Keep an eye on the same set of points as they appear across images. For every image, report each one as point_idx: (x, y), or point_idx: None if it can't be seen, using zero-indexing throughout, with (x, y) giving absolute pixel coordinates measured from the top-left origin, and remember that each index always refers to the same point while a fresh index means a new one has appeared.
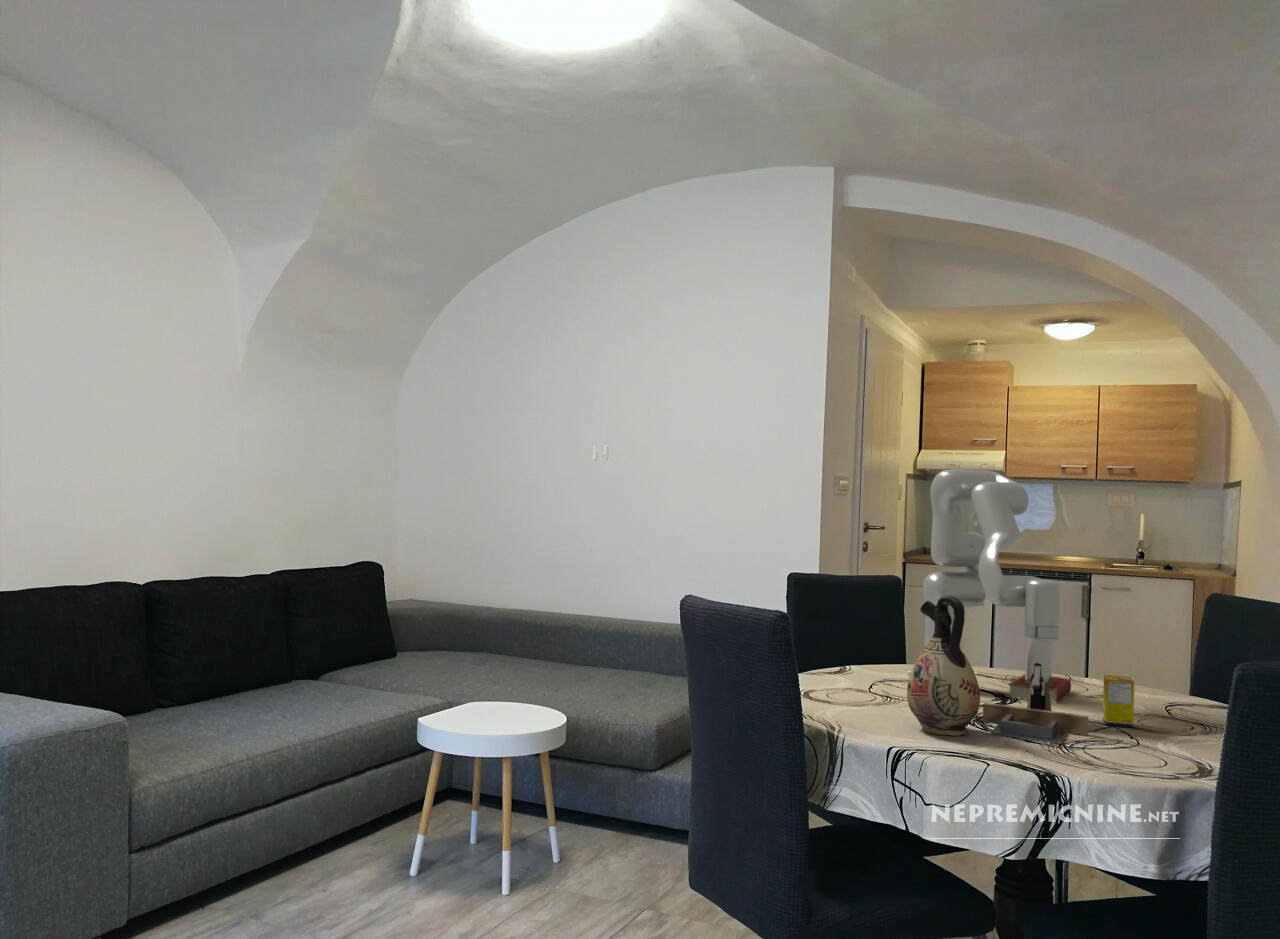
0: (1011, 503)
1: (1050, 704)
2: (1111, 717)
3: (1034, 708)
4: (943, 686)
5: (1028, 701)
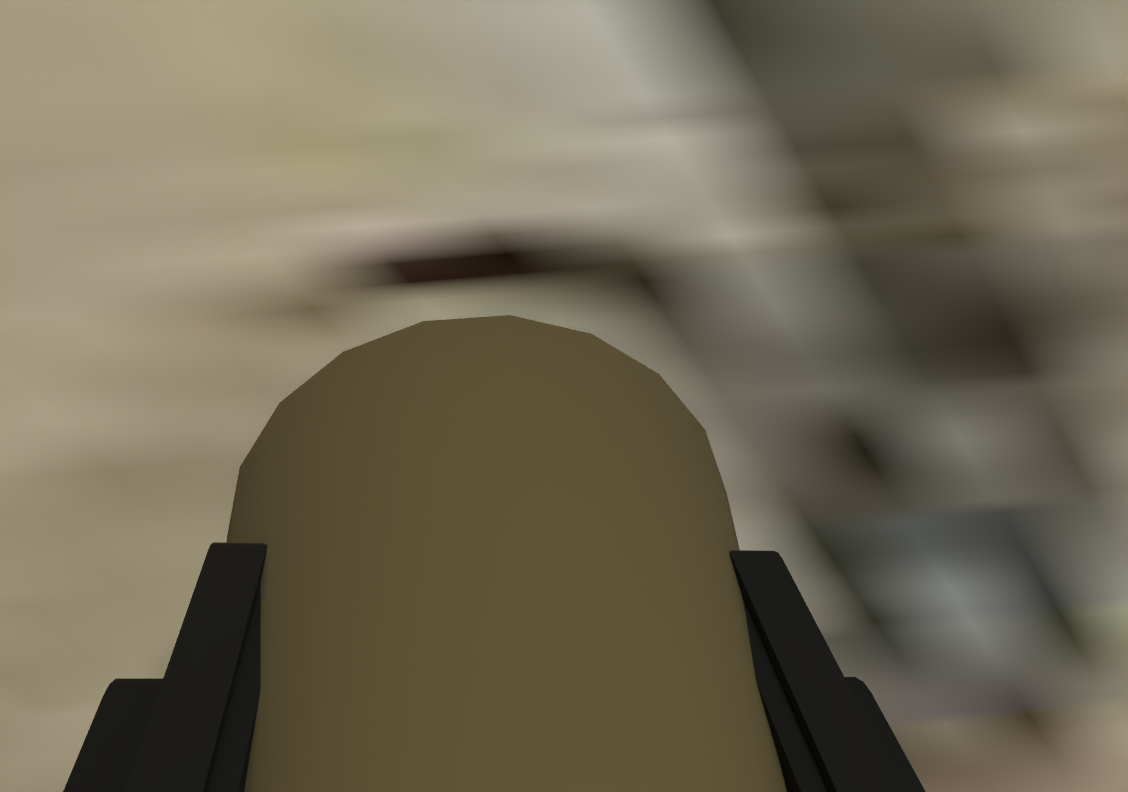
0: None
1: None
2: None
3: (115, 685)
4: None
5: (403, 597)
